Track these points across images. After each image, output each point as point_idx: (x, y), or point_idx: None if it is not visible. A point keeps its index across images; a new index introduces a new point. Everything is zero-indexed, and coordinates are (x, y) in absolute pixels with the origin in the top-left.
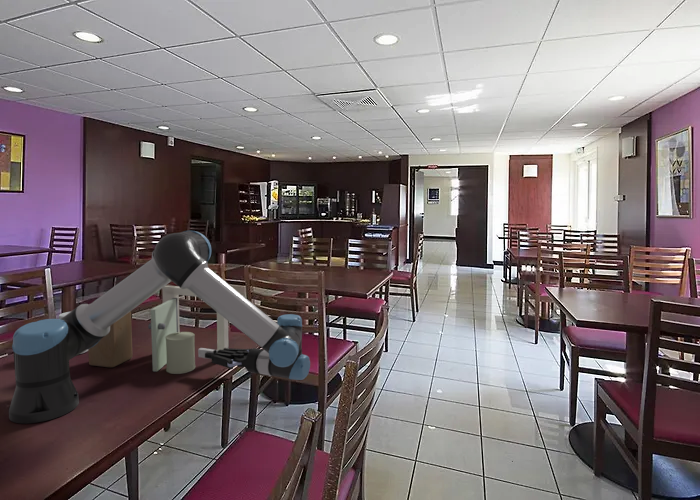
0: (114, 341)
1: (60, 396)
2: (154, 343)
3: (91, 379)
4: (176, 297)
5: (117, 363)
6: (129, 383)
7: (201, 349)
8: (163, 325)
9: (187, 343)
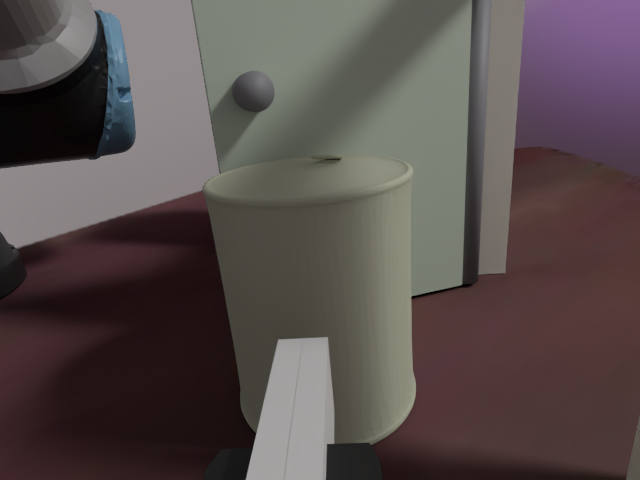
0: None
1: None
2: None
3: (160, 260)
4: None
5: None
6: (112, 333)
7: (277, 364)
8: (246, 83)
9: (261, 244)
